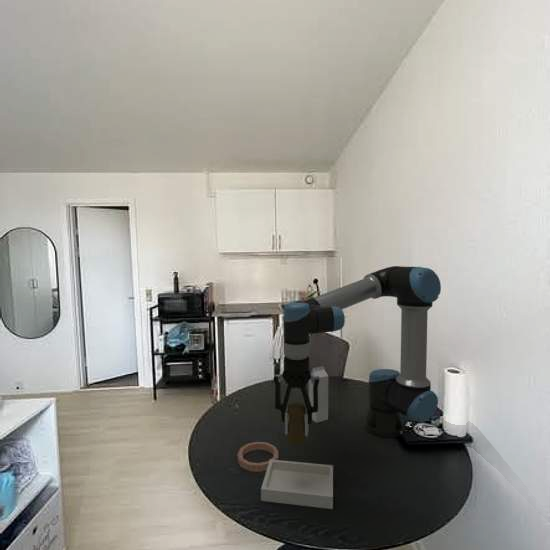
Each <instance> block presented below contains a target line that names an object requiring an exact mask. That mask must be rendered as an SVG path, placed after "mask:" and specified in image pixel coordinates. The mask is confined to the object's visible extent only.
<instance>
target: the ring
mask: <svg viewBox="0 0 550 550" xmlns="http://www.w3.org/2000/svg"><path fill="white" fill-rule="evenodd" d="M257 450H259V451H265V452H268V453H269V454H271V455H272V456H273V457H272V458H270V459H271V460H279V450H278V449H277V447H276V446H275V445H273V444H270V443H269V442H264V441H255V442H250V443H246V444H245V445H242V446H241V447H240V448H239V451H238V452H237V463H238V464H239V467H241V469H244V470H246V471H248V472H254V473H261V472H262V473H263V472H266V471H267V468H268V464H269V461H270V459H268V460H267V461H263V462H250V461H248V460H247V459H245V458H244V456H245V455H246V454H248V453H249V452H253V451H257Z"/></svg>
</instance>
